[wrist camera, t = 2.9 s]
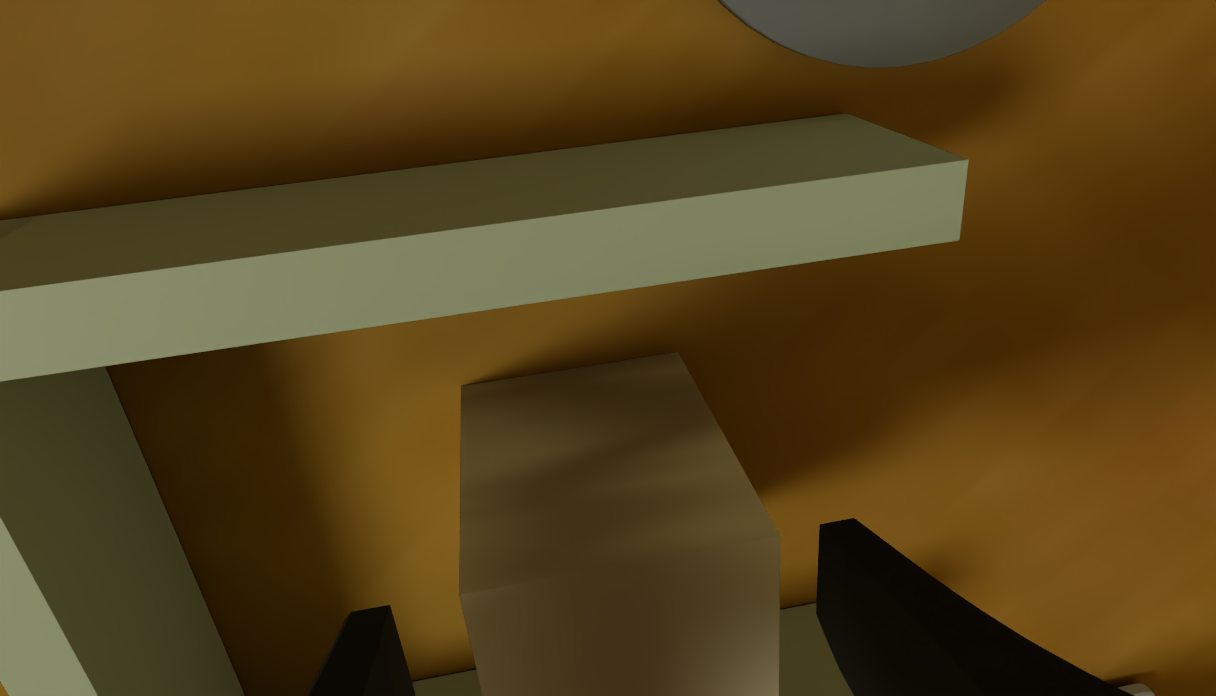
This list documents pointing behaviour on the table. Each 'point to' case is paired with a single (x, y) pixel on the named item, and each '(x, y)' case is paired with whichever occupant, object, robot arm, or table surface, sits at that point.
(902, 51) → the coaster
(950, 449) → the table surface
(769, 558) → the block
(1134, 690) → the robot arm
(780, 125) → the u-shaped frame
